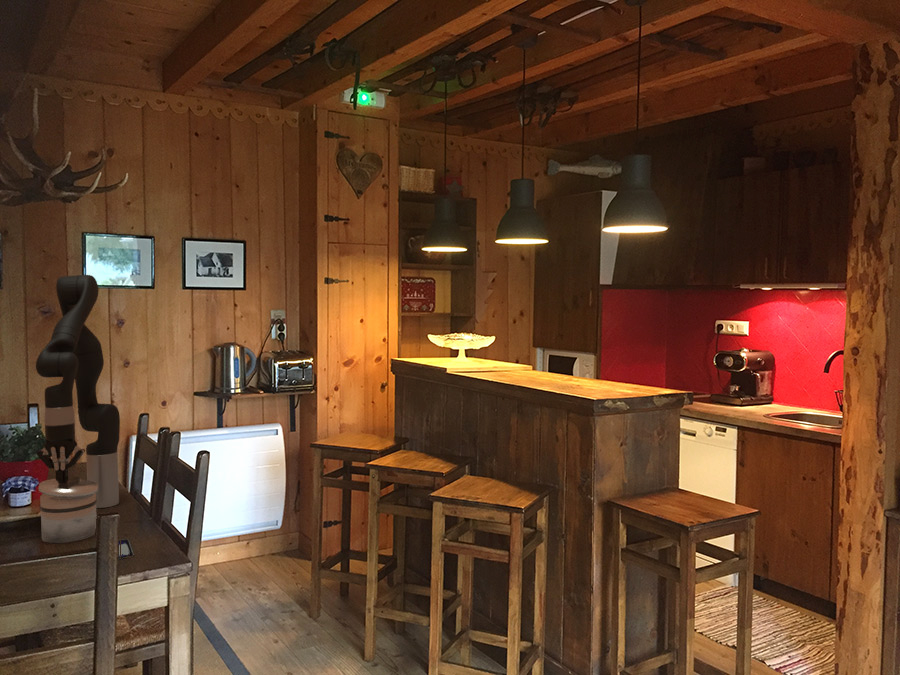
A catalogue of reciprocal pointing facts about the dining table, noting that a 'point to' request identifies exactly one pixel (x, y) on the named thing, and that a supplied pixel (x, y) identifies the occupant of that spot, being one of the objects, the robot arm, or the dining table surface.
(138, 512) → the dining table surface
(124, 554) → the smartphone
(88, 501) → the pot
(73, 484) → the lid
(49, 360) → the robot arm
